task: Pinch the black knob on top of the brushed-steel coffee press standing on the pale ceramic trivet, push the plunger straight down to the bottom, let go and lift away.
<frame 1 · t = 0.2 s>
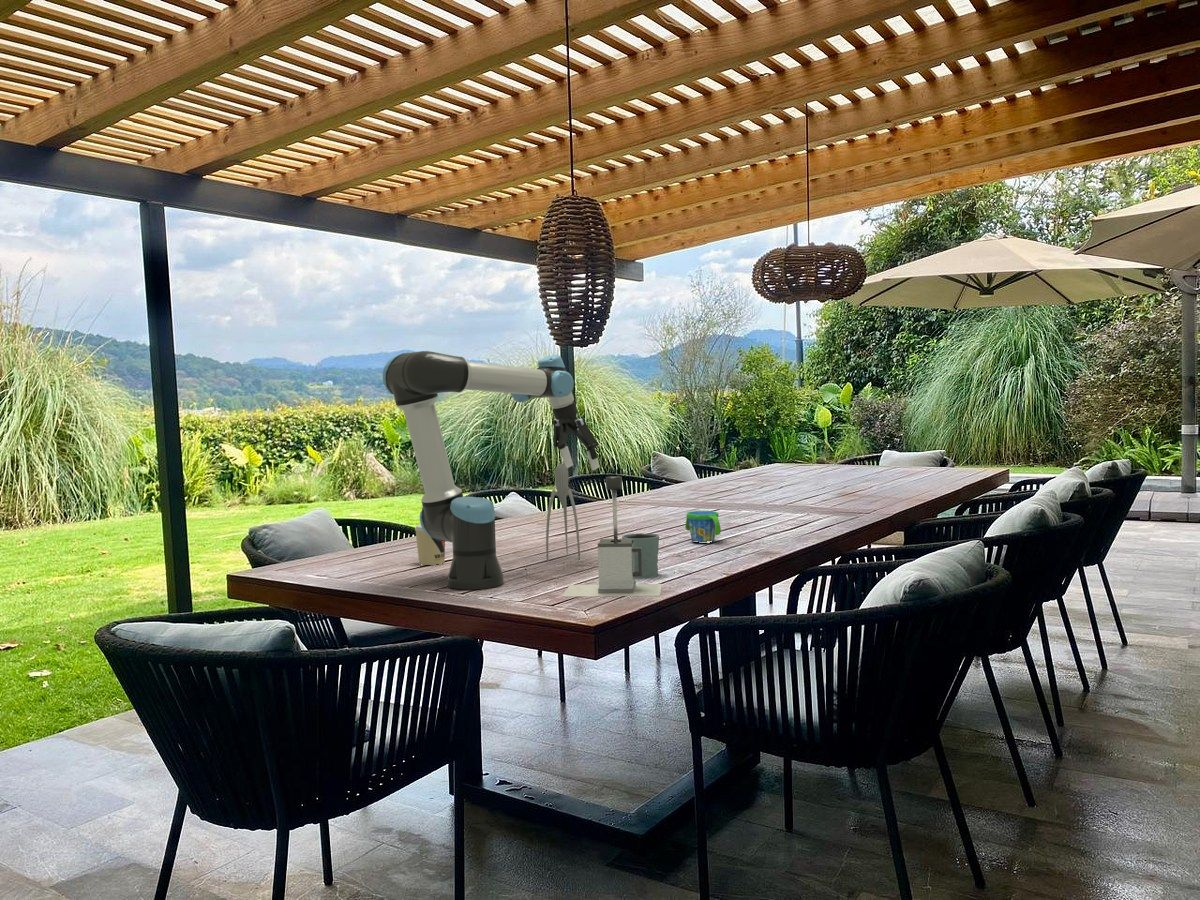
hand: (582, 467, 289), 28 cm above the table, tool tilted 20°, fingers open, 13 cm apart
green mug: (641, 579, 250), on the table
juicer: (565, 559, 286), on the table
coffee cup: (432, 564, 285), on the table
trivet: (613, 594, 231), on the table
snack cup: (703, 543, 309), on the table
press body: (617, 589, 231), resting on trivet
plunger: (614, 513, 230), point 21 cm above the table, slide at 0.0 cm
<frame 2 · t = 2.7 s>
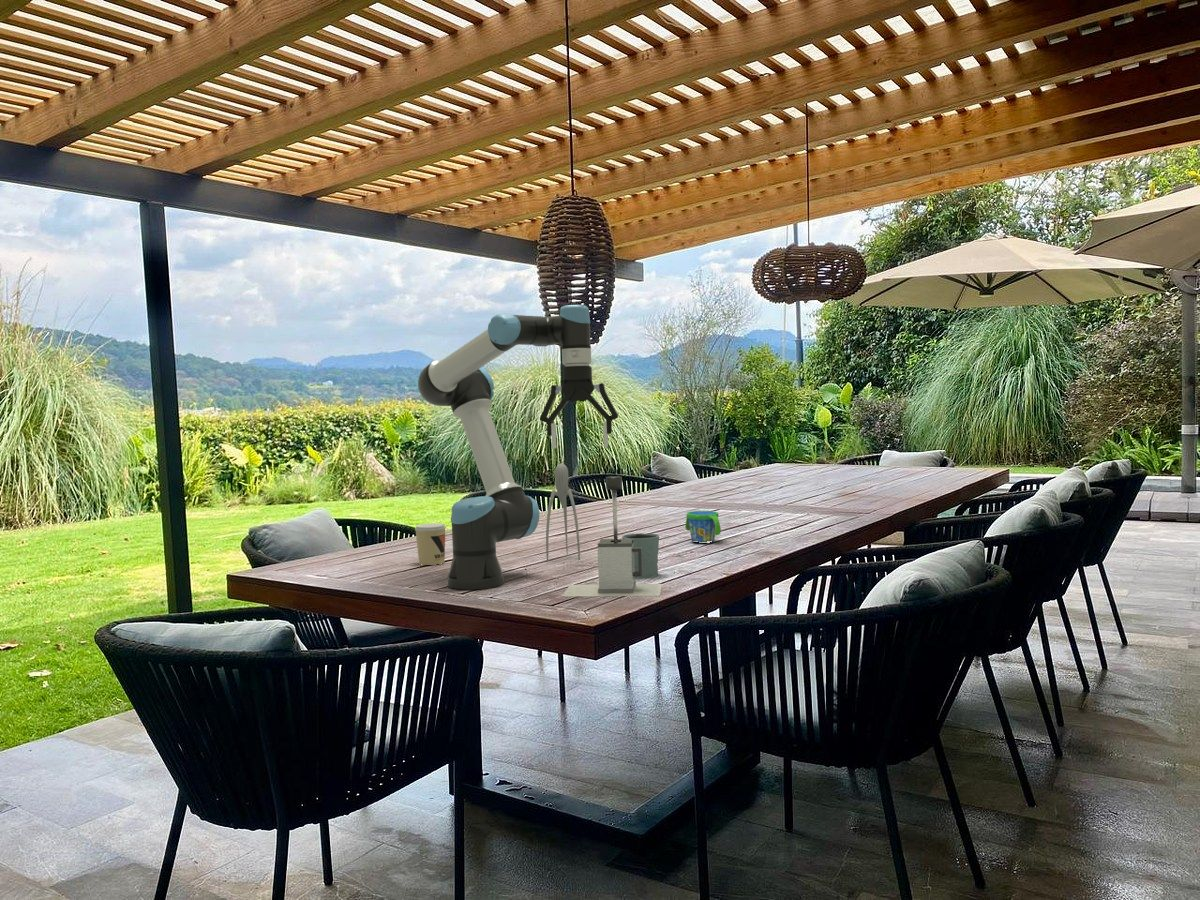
hand: (580, 447, 238), 37 cm above the table, tool pointing down, fingers open, 13 cm apart
nothing on the table moved.
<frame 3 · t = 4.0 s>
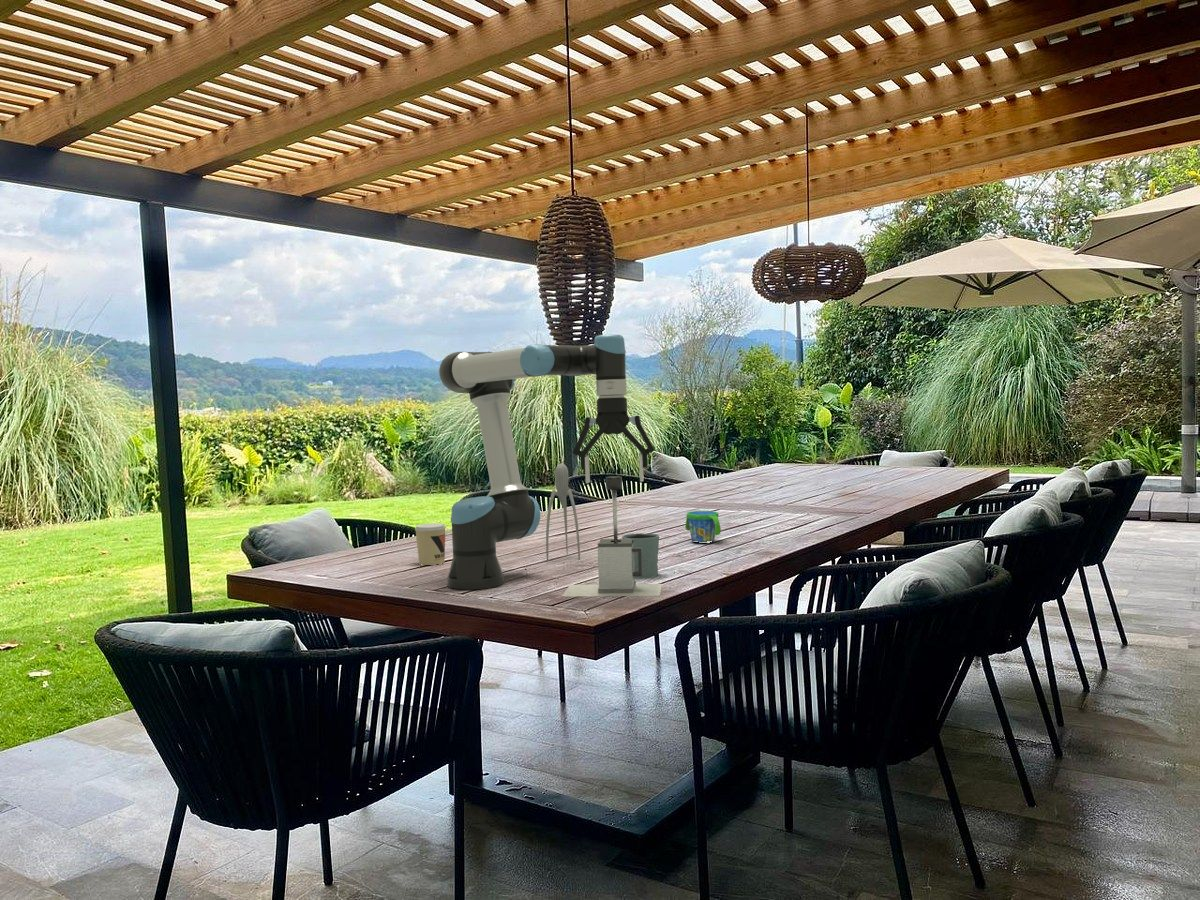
hand: (614, 482, 230), 28 cm above the table, tool pointing down, fingers open, 13 cm apart
nothing on the table moved.
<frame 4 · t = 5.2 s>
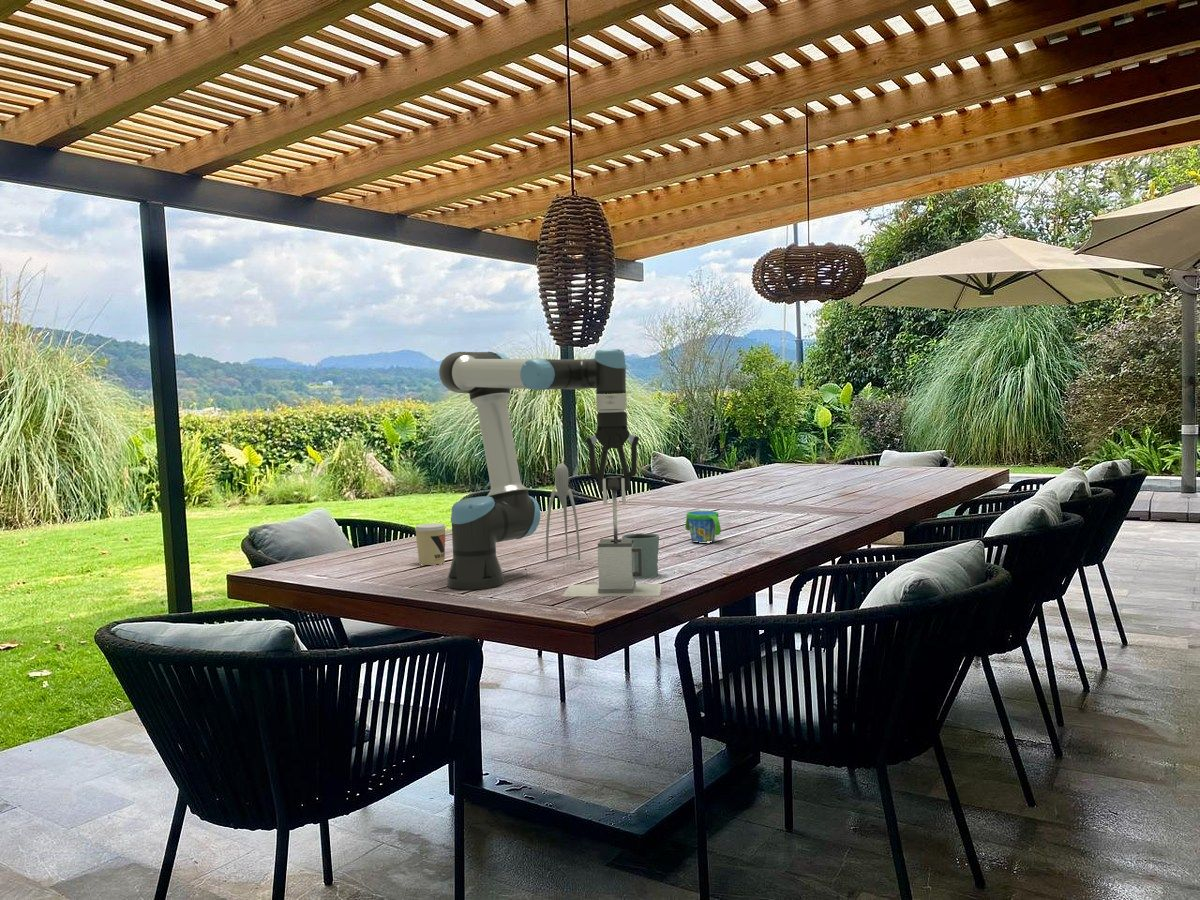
hand: (614, 504, 230), 23 cm above the table, tool pointing down, fingers closed on plunger, 4 cm apart
plunger: (614, 513, 230), point 21 cm above the table, slide at 0.0 cm, touching gripper
everything else where it was.
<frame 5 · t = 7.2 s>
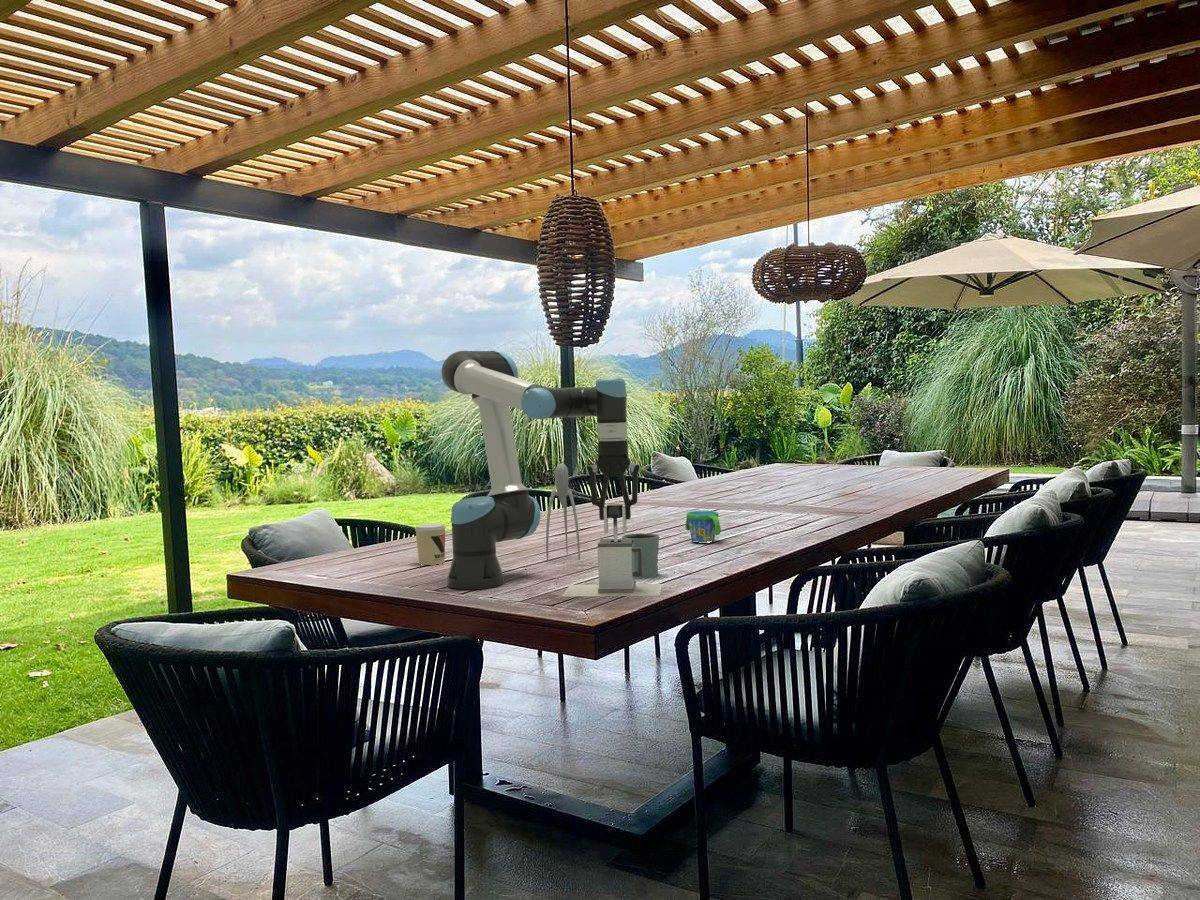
hand: (615, 532, 231), 16 cm above the table, tool pointing down, fingers closed on plunger, 4 cm apart
plunger: (615, 541, 231), point 13 cm above the table, slide at 7.1 cm, touching gripper
everything else where it was.
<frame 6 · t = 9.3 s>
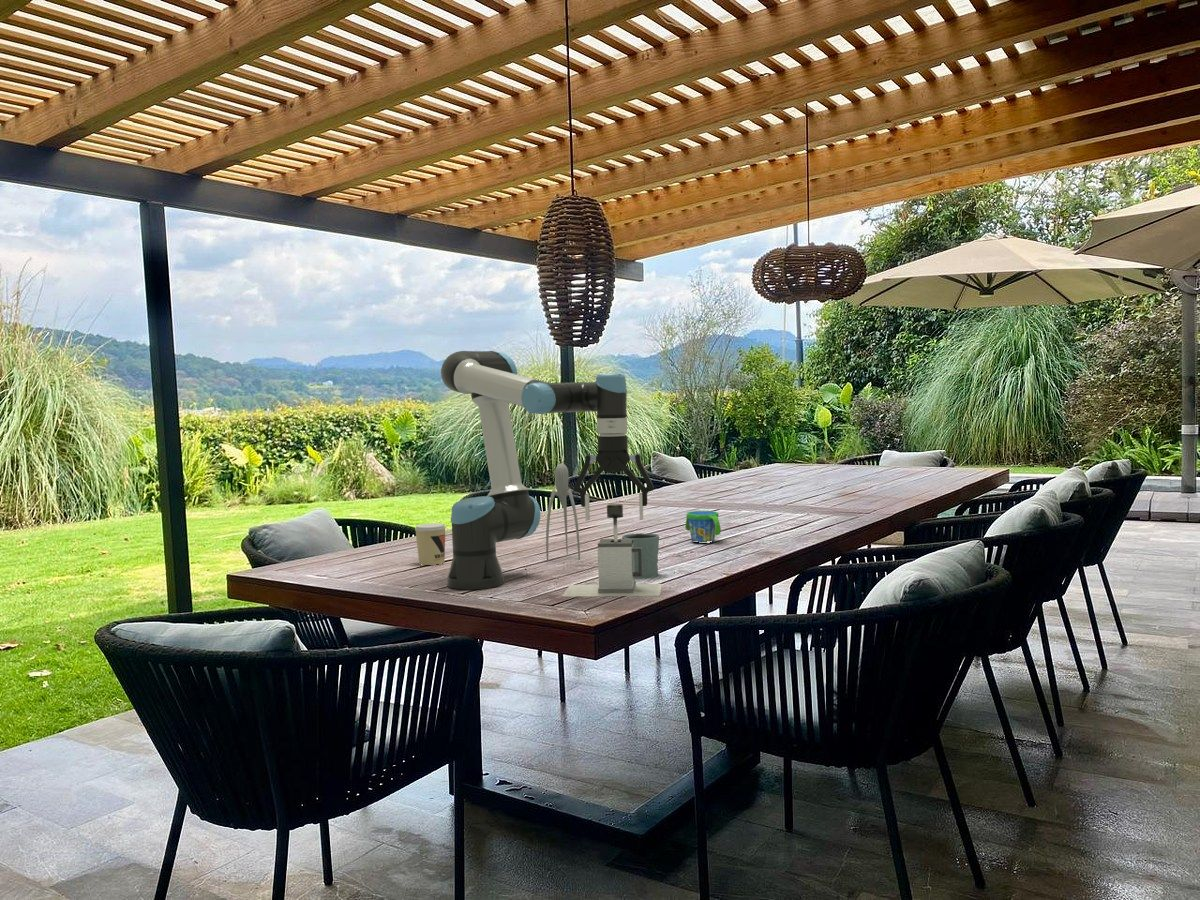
hand: (614, 519, 231), 19 cm above the table, tool pointing down, fingers open, 13 cm apart
plunger: (615, 541, 231), point 13 cm above the table, slide at 7.1 cm
everything else where it was.
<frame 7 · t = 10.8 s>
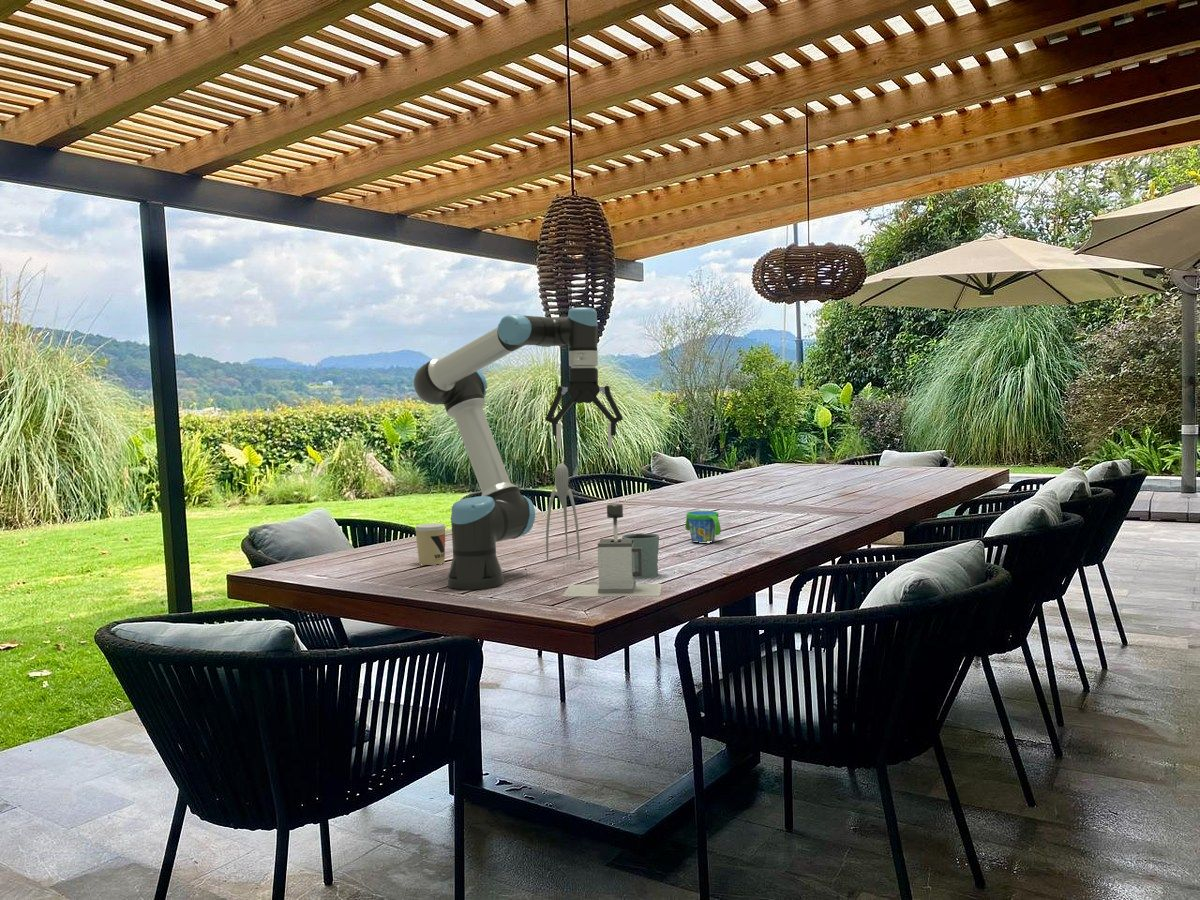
hand: (584, 448, 241), 36 cm above the table, tool pointing down, fingers open, 13 cm apart
nothing on the table moved.
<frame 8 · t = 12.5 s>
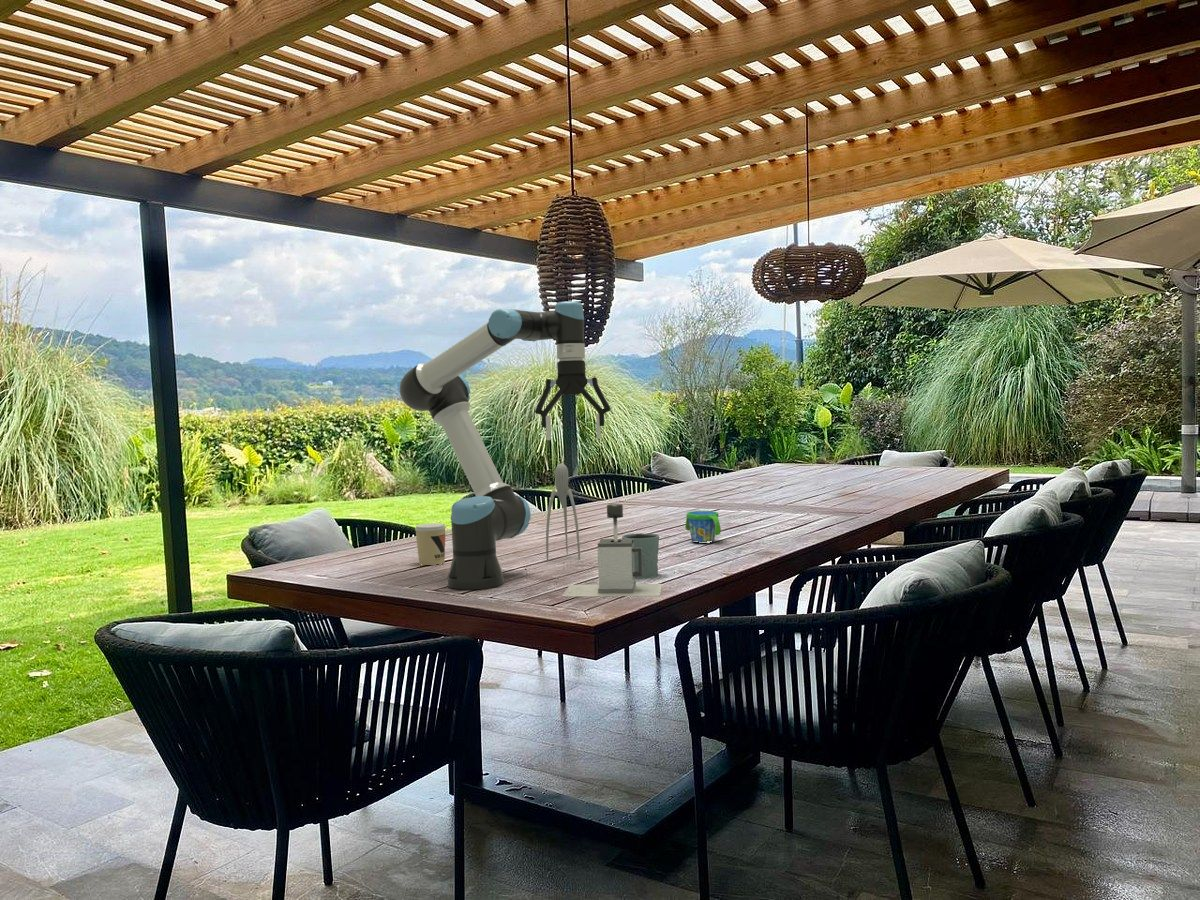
hand: (573, 439, 246), 39 cm above the table, tool pointing down, fingers open, 13 cm apart
nothing on the table moved.
at the end: plunger slide at 7.1 cm; the gripper is holding nothing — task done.
